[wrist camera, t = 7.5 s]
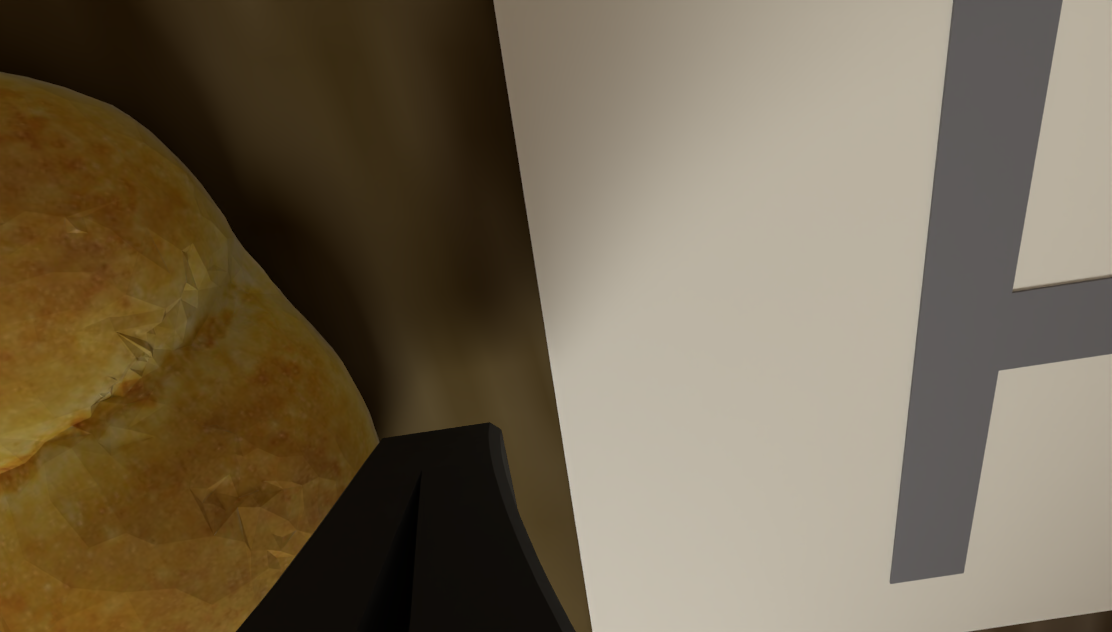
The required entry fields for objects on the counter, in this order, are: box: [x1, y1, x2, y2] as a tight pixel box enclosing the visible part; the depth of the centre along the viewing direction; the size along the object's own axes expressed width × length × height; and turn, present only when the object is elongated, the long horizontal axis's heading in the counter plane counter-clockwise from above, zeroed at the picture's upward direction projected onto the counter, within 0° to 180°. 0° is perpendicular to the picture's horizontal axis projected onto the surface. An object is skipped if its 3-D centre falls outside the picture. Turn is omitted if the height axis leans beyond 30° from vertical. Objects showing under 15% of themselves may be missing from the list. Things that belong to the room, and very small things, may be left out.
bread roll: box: [0, 72, 379, 632], centre depth 8 cm, size 8×9×4 cm
